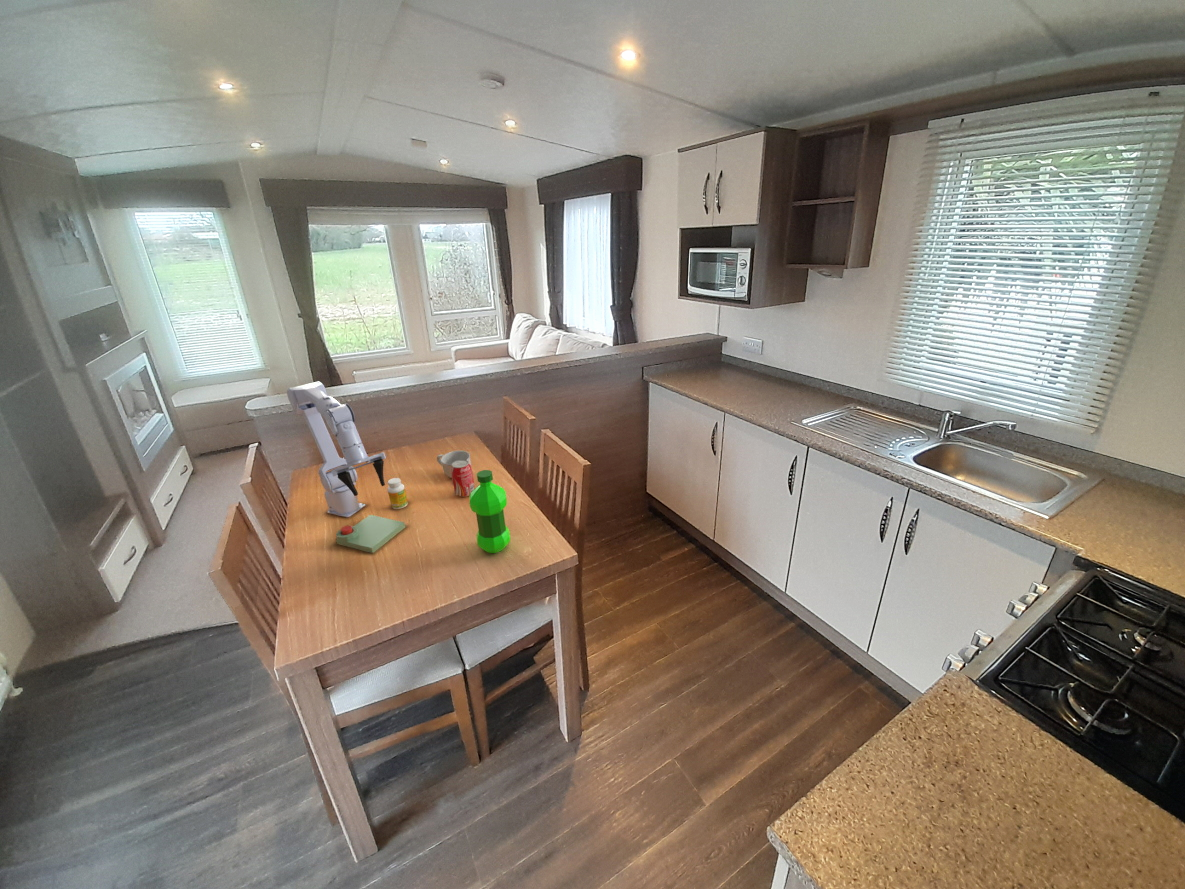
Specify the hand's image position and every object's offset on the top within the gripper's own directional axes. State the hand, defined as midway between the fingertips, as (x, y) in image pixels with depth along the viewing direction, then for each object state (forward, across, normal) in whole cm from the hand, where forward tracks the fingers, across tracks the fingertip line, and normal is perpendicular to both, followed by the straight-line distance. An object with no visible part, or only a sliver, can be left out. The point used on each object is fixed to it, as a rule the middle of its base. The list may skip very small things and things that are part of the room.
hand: (370, 490), depth 138 cm
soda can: (+15, +24, +24) cm, 37 cm away
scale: (+14, -6, +10) cm, 19 cm away
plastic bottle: (+28, +27, -9) cm, 40 cm away
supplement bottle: (+10, +3, +25) cm, 27 cm away
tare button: (+10, -12, +9) cm, 18 cm away
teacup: (+8, +24, +40) cm, 47 cm away
